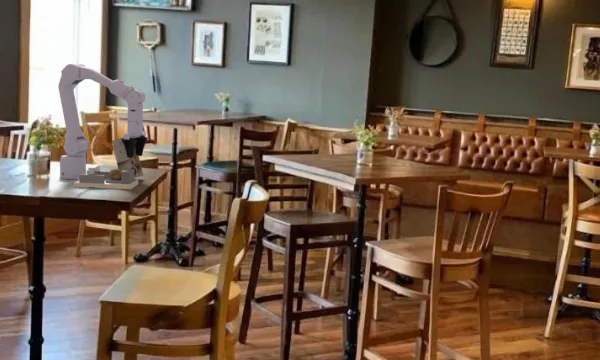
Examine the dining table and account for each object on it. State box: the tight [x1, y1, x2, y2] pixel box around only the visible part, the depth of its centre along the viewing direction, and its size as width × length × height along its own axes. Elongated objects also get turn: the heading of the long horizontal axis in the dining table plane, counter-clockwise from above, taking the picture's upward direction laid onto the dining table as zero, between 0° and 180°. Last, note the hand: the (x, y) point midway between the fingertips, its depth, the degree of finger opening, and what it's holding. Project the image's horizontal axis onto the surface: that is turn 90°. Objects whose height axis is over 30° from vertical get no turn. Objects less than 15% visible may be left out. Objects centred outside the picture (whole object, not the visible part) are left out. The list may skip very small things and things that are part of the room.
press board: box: [72, 169, 139, 190], centre depth 282 cm, size 21×12×6 cm, turn 89°
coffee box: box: [111, 137, 144, 179], centre depth 296 cm, size 9×6×16 cm
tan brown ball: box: [108, 167, 122, 180], centre depth 282 cm, size 5×5×5 cm
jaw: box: [88, 164, 101, 175], centre depth 282 cm, size 2×8×4 cm, turn 179°
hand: (134, 156), depth 293 cm, fingers open, 7 cm apart
